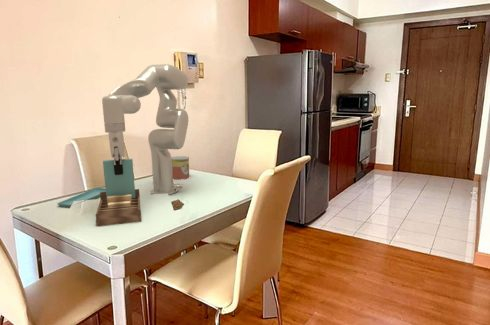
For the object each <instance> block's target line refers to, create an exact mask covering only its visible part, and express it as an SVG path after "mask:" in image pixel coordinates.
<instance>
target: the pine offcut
mask: <svg viewBox="0 0 490 325" xmlns="http://www.w3.org/2000/svg"><path fill="white" fill-rule="evenodd" d="M121 206H131V204H130V201H125V202H113V203H108V208H110V207H121Z"/></svg>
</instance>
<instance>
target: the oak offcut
mask: <svg viewBox="0 0 490 325" xmlns="http://www.w3.org/2000/svg"><path fill="white" fill-rule="evenodd" d="M125 201H130V203H131V202H132V195H131V194H130V195H118V196H107V205H108V203H113V202H125Z"/></svg>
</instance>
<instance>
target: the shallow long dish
mask: <svg viewBox="0 0 490 325" xmlns="http://www.w3.org/2000/svg"><path fill="white" fill-rule="evenodd" d="M100 192H106V189H105V187H95V188H92V189H89V190H87V191H85V192H82V193H80V194H77V195H74V196H72V197H70V198H67V199H65V200H61V201H59V202H57V206H59V207H60V208H69V209H70V208H71V207H72V206H73V205H74V206H76V205H78V204H80V203H83V202H86V201H90V200H96V199H99V198H100ZM78 201H79V202H78ZM74 202H78V203H75V204H73V203H74Z"/></svg>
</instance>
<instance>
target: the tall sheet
mask: <svg viewBox="0 0 490 325" xmlns="http://www.w3.org/2000/svg"><path fill="white" fill-rule="evenodd" d="M121 162H122V165H123V174H122V175H115V173H114V159H108V160H107V159H106V160H103V161H102V165H103V166H102V167H103V176H104V186H105V187H104V188H105V189H106V199H107V196H118V195H130V194H131V195H132V198H135V189H136V188H135V185H136V184H135V176H134V175H135V174H134V164H133V163H134V162H133V158H122V159H121Z"/></svg>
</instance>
